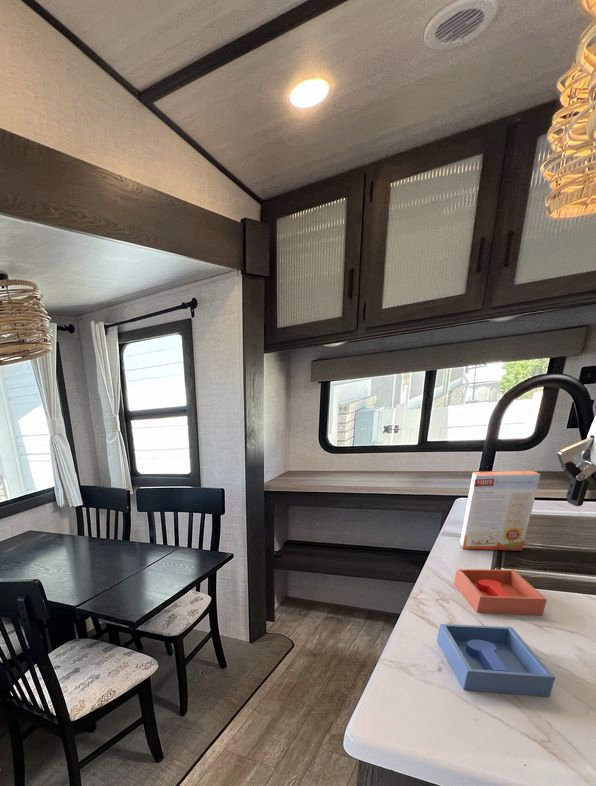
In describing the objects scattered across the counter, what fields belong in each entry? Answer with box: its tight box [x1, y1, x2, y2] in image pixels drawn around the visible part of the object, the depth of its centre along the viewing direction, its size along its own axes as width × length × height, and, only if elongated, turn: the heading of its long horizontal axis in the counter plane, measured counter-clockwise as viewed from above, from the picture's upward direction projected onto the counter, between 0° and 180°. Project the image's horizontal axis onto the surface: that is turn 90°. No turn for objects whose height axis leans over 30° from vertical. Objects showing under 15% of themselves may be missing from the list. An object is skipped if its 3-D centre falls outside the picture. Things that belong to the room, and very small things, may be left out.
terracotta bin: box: [453, 568, 548, 616], centre depth 103 cm, size 12×17×4 cm
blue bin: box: [436, 623, 556, 698], centre depth 80 cm, size 12×17×4 cm
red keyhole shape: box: [477, 580, 510, 597], centre depth 104 cm, size 11×4×2 cm, turn 163°
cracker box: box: [459, 470, 541, 552], centre depth 128 cm, size 14×6×21 cm, turn 65°
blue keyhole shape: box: [466, 640, 508, 672], centre depth 81 cm, size 11×4×2 cm, turn 163°
